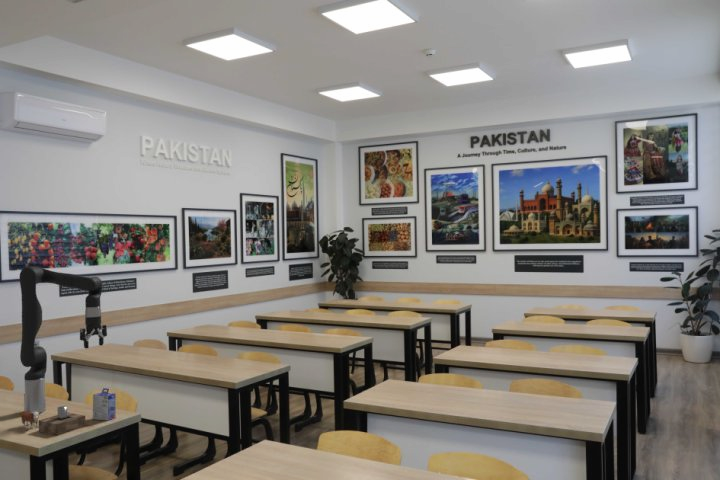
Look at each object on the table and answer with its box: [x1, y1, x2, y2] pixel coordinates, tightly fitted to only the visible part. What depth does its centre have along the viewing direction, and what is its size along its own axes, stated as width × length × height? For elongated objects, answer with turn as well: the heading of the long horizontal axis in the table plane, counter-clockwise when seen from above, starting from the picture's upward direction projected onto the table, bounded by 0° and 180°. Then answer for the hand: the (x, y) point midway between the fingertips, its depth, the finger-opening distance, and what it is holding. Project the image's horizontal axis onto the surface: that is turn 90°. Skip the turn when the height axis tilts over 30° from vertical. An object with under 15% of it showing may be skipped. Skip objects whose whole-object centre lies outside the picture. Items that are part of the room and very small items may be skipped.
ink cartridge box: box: [92, 387, 117, 422], centre depth 282 cm, size 10×6×14 cm, turn 72°
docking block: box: [38, 411, 87, 436], centre depth 268 cm, size 14×14×5 cm
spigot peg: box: [56, 405, 68, 421], centre depth 268 cm, size 4×4×9 cm
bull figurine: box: [20, 410, 42, 429], centre depth 271 cm, size 4×13×8 cm, turn 58°
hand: (93, 346), depth 296 cm, fingers open, 8 cm apart
